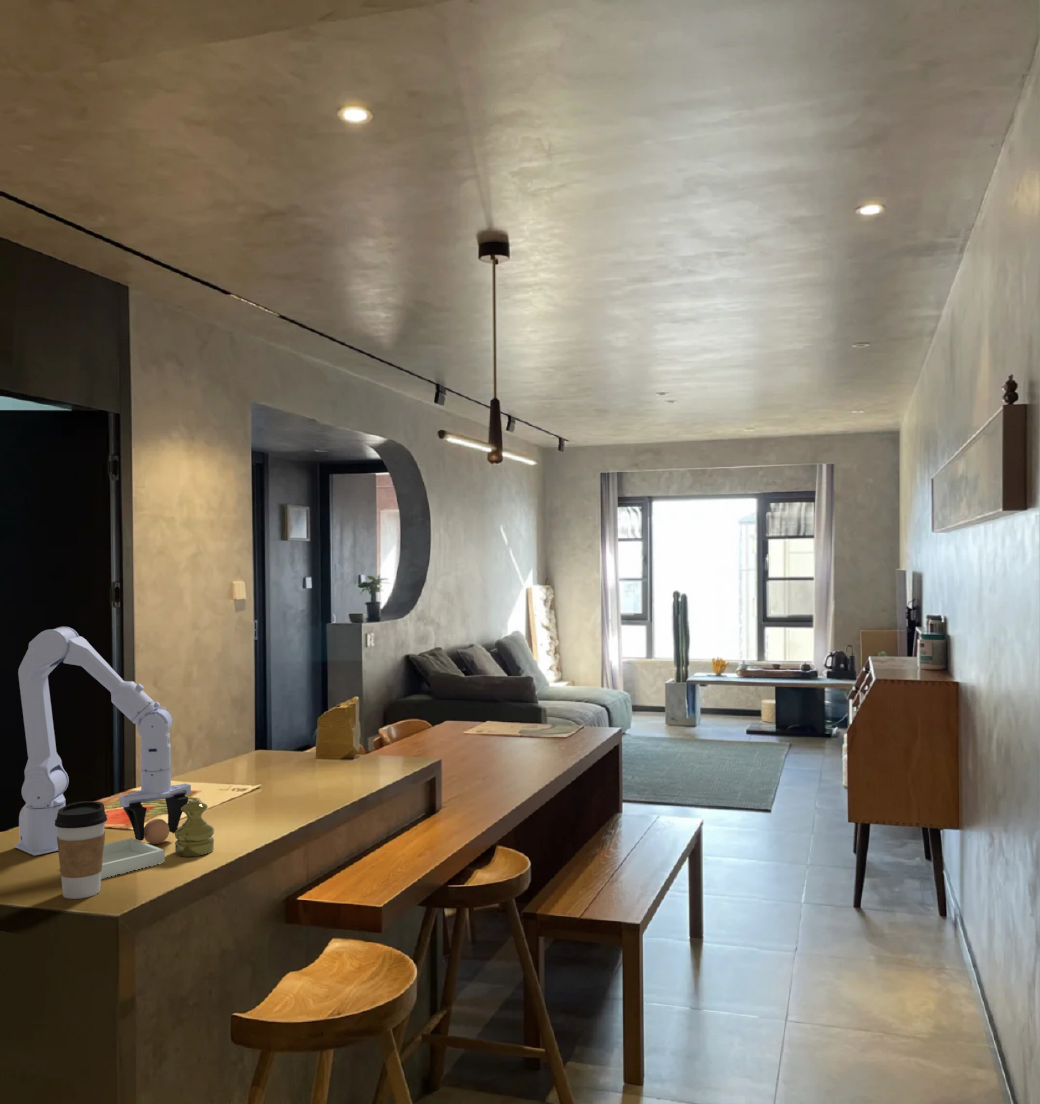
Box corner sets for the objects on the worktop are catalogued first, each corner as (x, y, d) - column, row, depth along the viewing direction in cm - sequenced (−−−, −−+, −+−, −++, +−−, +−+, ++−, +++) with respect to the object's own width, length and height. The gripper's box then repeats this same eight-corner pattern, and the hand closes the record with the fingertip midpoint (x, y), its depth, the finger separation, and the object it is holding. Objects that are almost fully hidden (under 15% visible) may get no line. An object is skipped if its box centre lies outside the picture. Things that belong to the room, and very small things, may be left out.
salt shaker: (172, 858, 195) (172, 806, 195) (177, 847, 202) (177, 797, 202) (212, 856, 196) (211, 804, 197) (215, 845, 204) (215, 795, 204)
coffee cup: (115, 884, 180) (114, 800, 180) (96, 901, 171) (96, 812, 171) (67, 885, 179) (66, 801, 179) (46, 902, 171) (45, 813, 171)
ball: (138, 844, 205) (138, 819, 205) (161, 838, 209) (161, 814, 209) (151, 848, 202) (151, 823, 202) (174, 843, 205) (174, 818, 205)
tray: (68, 865, 191) (68, 852, 191) (131, 850, 200) (131, 838, 200) (100, 879, 183) (100, 865, 183) (164, 863, 192) (164, 849, 192)
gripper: (132, 777, 197) (132, 847, 197) (198, 765, 208) (199, 831, 208) (114, 772, 202) (114, 840, 202) (180, 761, 213) (180, 825, 213)
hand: (156, 835), depth 205 cm, fingers open, 7 cm apart
